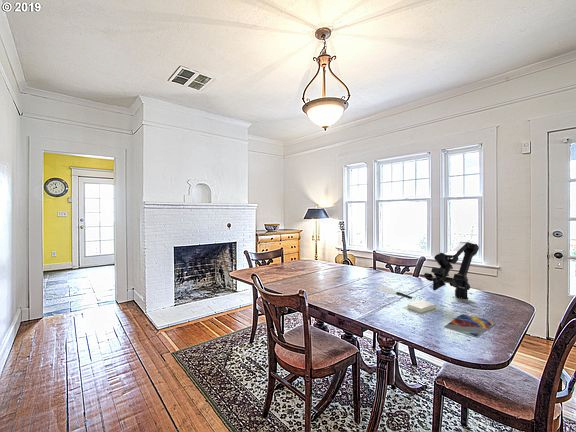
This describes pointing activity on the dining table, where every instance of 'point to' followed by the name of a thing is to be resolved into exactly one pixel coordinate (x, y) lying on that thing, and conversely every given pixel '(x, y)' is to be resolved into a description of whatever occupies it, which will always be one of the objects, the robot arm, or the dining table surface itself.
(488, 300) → the dining table surface
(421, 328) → the dining table surface
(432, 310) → the sage rubber mat
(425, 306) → the standing glazed tile
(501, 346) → the dining table surface
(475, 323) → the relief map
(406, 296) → the kitchen cleaver
